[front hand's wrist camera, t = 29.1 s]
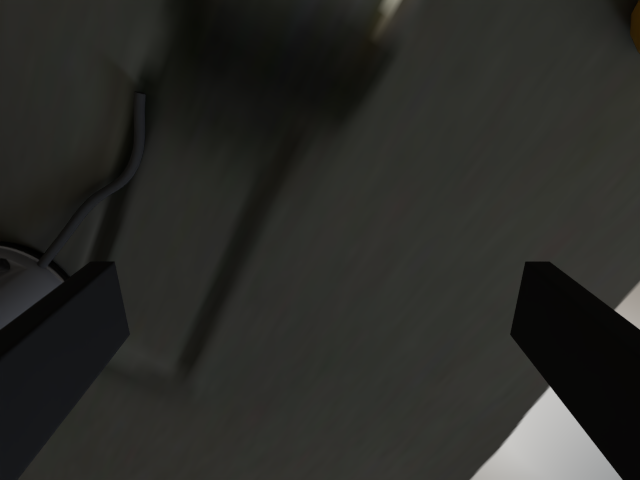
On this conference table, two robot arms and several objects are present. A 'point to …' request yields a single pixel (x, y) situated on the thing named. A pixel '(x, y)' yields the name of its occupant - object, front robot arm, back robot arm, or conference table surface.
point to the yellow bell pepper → (636, 26)
